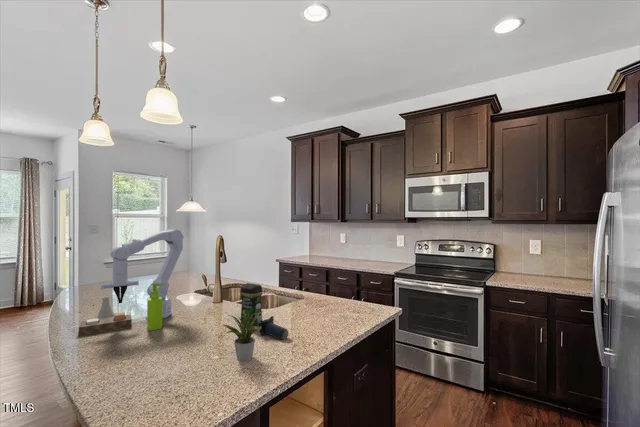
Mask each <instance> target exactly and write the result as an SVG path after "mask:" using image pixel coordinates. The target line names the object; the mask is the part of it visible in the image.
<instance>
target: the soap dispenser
mask: <svg viewBox="0 0 640 427" xmlns="http://www.w3.org/2000/svg"><path fill="white" fill-rule="evenodd" d="M150 285H153V290H152V291H151V298H150V297H148V298H147V299H146V303H147V306H146V308H147V310H146V311H147V314H146V317H147V319H146V320H147V322H146V324H147V326H146V327H147V328H146V330H148V331H157V330H160V329H162V328H163V318H162V297H159V290H157V285H159V286H161V285H164V284H162V283H153V282H151V283H150Z"/></svg>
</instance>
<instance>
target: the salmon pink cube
mask: <svg viewBox="0 0 640 427" xmlns="http://www.w3.org/2000/svg"><path fill="white" fill-rule="evenodd" d="M114 314H115V315H114V321H116V320H123V319H125V315H126V312H124V311H123V312H115V313H114Z"/></svg>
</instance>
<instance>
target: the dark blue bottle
mask: <svg viewBox="0 0 640 427" xmlns="http://www.w3.org/2000/svg"><path fill="white" fill-rule="evenodd" d="M274 318H275V317H274V316H270V317H269V318H267V319H262V320H260V322H259V324H258V326H257V327H258V328H259V329H258V331H259V333H258V334H259V336H260V337H263V336H265V335H267V334H268V335H270V336H272V337H275V338H276V339H279V340H283V341H284V340H286V339H288V336H289V330H288V329H287V328H286V327H284V326H283V327H282V326H280V325H278V324H275V323H274Z"/></svg>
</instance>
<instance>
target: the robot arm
mask: <svg viewBox="0 0 640 427" xmlns="http://www.w3.org/2000/svg"><path fill="white" fill-rule="evenodd" d="M184 238H185V236H184V235H183V233H182V231H181V230H180V229H169V228H168V229H165V230H161V231H159V232H157V233H154V234H152V235H150V236H149V237H146V238H144V239H142V240H141V239H138V238H137V239H135V238H134V239H132V240H131V241H129V242H127V243H123V244H121V246H115V247H114V248H113V249H112V250H111V252H110V257H111V258H112V282H109V283H101V284H100V290H105V289H112V290H113V292H114V293H115V296H116V298H117V302H118V304H123V300H124V296H125V294H126V292H127V289H128V287H132V286H139V282H140V281H139V280H129V279H128V278H129V277H128V273H129V272H128V259H129V257H131V256H132V255H135V254H137V253H139V252H142V251H144V250H145V248H146V246H149V245H152V244H154V243H157V242H160V241H164V242H166V243H167V244H168V247H169V248H170V250H169V252H168V254H167V256H166V258H165V260H164V263H163V264H162V267H161V268H160V271H159V273H158V274H157V277H156V278H155V279H154V280H153V281H152V283H162V284H164V285H161V286H159V285H157V290H159V297H162V319H167V318H168V317H169V316H171V315H172V314H173V313H172V300H171V298H169V297H167V295H168V292H169V287H170V284H169V280H170V277H171V275H172V274H173V271H174V268H175V266H176V265H177V262H178V260H179V257H180V255H181V253H182V251H183V247H184V244H183V243H184V242H183V241H184V240H183V239H184ZM152 290H153V285H151V284H150V285H149V286H148V287H147V290H146V291H147V292H146V293H147V295H148V296H149V298H151V291H152ZM145 319H146V320H147V316H146V317H145Z"/></svg>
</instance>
